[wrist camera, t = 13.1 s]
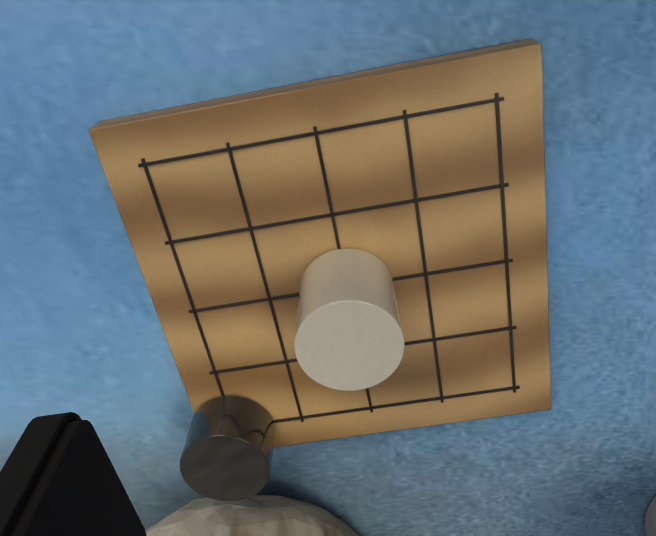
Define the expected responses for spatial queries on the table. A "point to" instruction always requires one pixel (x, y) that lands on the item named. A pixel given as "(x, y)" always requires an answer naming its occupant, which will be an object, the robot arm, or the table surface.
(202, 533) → the ceramic vessel
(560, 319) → the table surface
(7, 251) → the table surface
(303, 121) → the board
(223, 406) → the black stone
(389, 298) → the beige cylinder
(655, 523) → the decorative object
